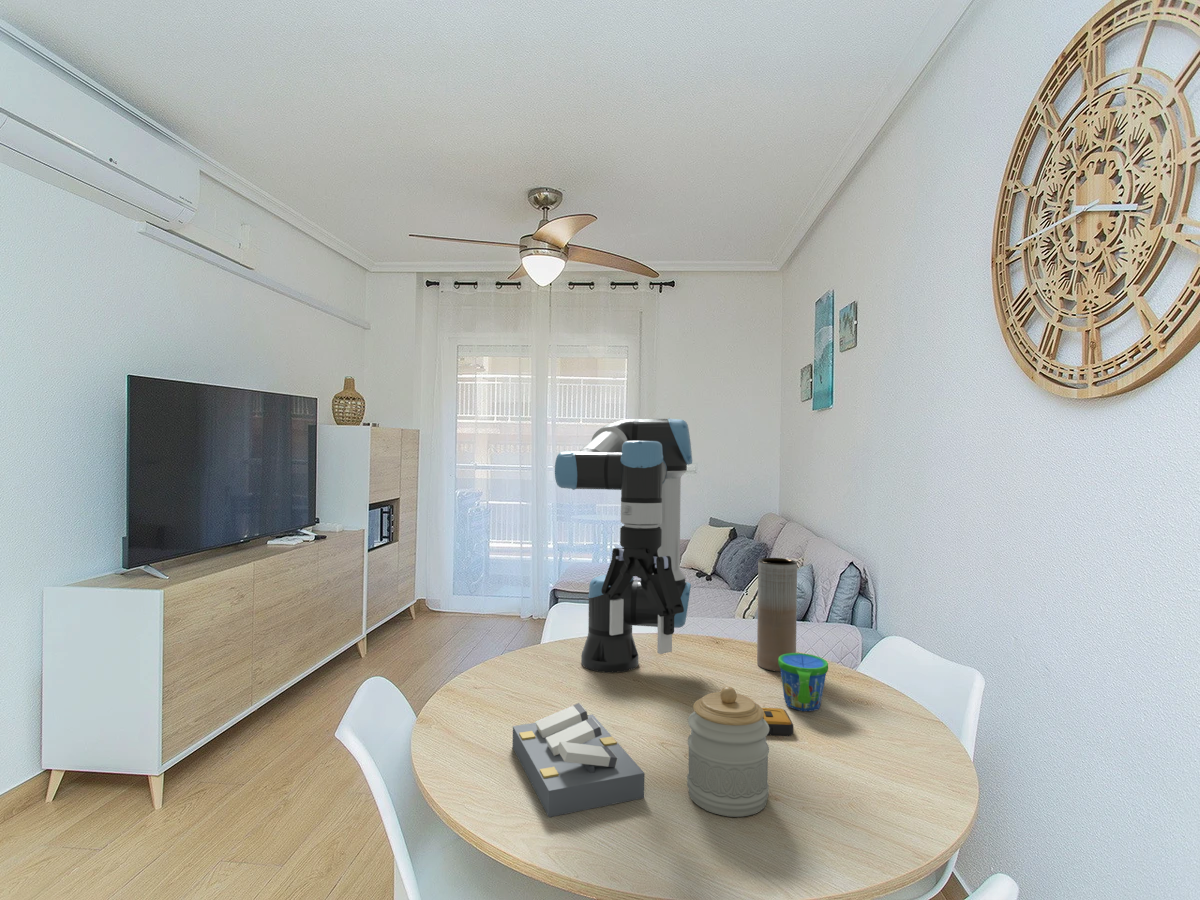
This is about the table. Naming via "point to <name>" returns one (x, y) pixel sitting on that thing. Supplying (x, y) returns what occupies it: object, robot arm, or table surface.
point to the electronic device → (778, 722)
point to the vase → (776, 611)
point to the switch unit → (576, 774)
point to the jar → (728, 754)
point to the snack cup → (803, 680)
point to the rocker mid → (574, 734)
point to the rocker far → (561, 720)
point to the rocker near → (587, 754)
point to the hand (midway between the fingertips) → (639, 643)
